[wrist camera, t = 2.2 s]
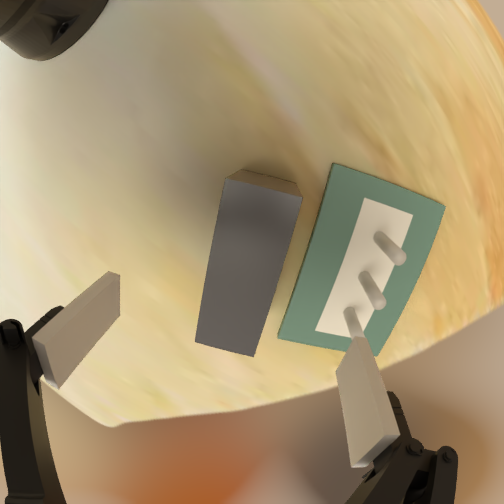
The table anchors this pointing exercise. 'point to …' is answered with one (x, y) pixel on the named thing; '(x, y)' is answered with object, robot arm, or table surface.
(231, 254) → the block
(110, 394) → the table surface
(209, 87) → the table surface
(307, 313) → the green peg board
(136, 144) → the table surface
